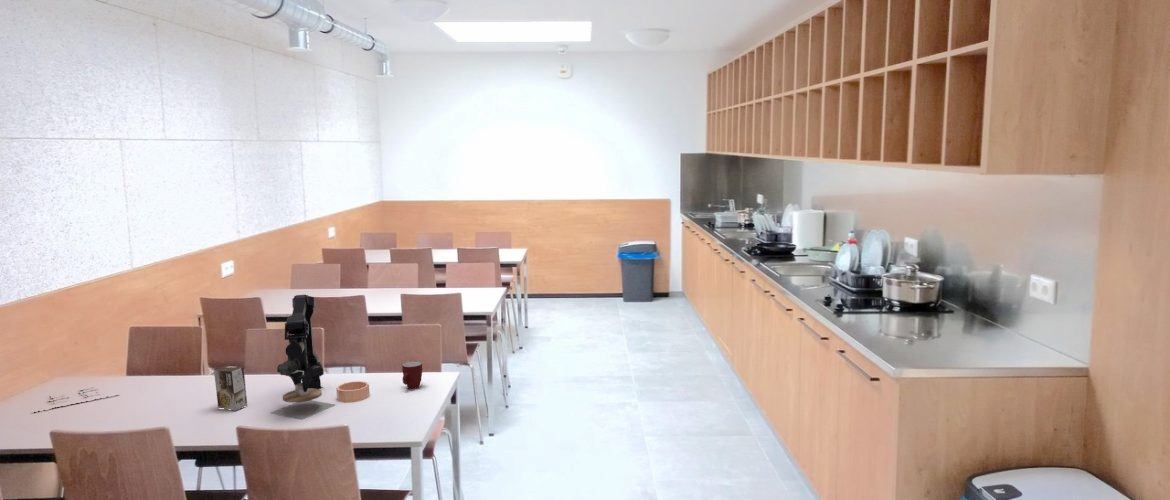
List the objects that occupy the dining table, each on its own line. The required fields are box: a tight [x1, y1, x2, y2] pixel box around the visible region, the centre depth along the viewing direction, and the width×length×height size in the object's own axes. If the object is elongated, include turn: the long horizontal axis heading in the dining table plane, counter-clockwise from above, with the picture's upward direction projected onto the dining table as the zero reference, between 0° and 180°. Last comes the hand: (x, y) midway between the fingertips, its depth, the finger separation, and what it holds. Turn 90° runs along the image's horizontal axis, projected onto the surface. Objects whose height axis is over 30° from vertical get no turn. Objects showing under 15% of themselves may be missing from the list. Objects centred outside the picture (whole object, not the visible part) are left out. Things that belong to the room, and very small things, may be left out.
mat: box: [269, 399, 336, 420], centre depth 285 cm, size 17×17×1 cm
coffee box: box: [213, 365, 248, 411], centre depth 290 cm, size 9×6×16 cm
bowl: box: [335, 380, 371, 403], centre depth 297 cm, size 12×12×6 cm
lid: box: [282, 381, 323, 404], centre depth 283 cm, size 14×14×5 cm
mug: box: [401, 360, 423, 390], centre depth 308 cm, size 10×8×10 cm
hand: (301, 391), depth 284 cm, fingers closed on lid, 3 cm apart
